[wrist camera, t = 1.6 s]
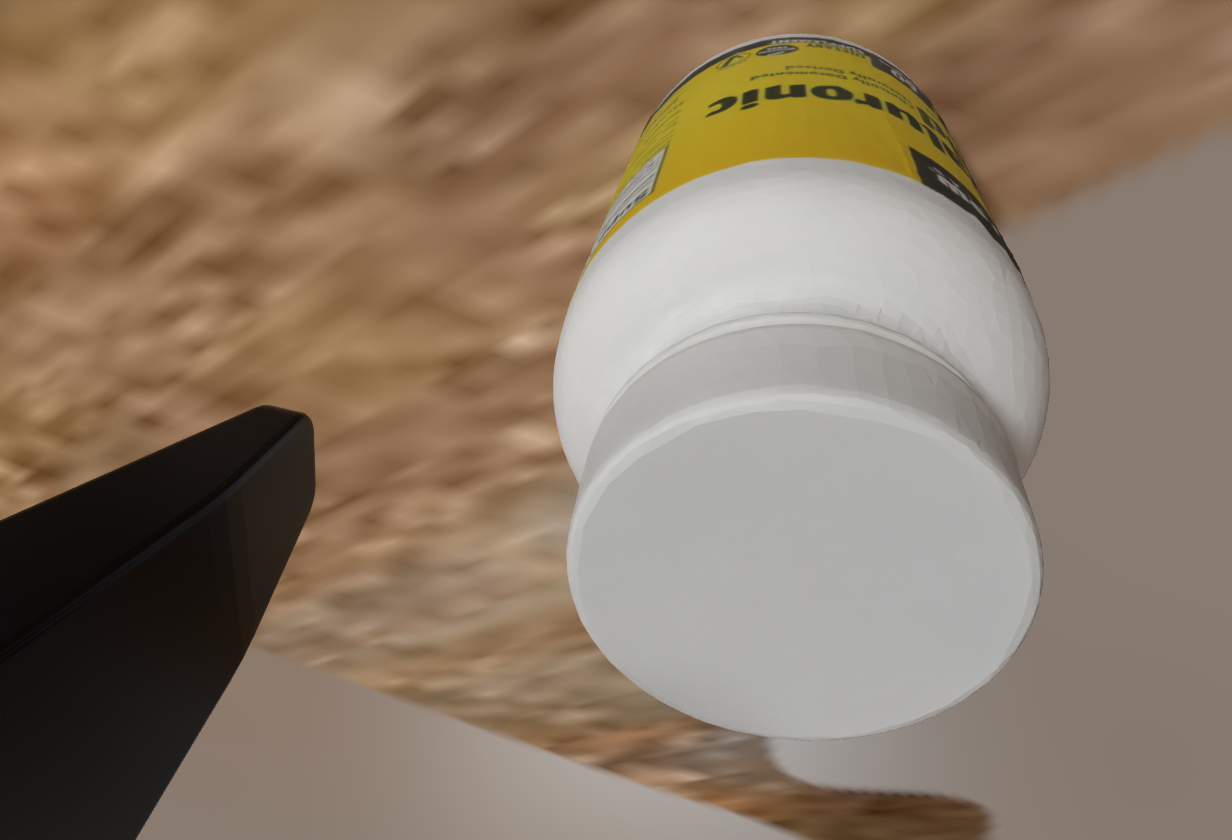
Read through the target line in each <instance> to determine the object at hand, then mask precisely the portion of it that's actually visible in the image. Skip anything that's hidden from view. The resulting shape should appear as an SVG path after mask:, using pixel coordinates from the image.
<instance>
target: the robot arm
mask: <svg viewBox="0 0 1232 840" xmlns="http://www.w3.org/2000/svg"><path fill="white" fill-rule="evenodd" d="M315 486H316V482H315V451H314V428H313V424H312V421H311V419H310V418H309V417H308V416H307V415H306V414H304V413H302V412H297V411H293V410H289V409H284V408H280V407H276V406H270V405H262V406H259V407H256V408H253V409H251V410H249V411H247V412H244V413H242V414H240V415H238V416H235V417H233V418H231V419H228V420H226V421H224V422H222V423H219V424H217V425H215V426H213V427H210V428H208V429H206V430H204V431H201V432H199V433H197V434H195V435H192V436H190V437H188V438H186V439H183V440H181V441H179V442H176V443H174V444H172V445H170V446H167V447H165V448H163V449H161V450H158V451H156V452H154V453H152V454H149V455H147V456H145V457H143V458H140V459H138V460H136V461H134V462H131V463H129V464H127V465H124V466H122V467H120V468H118V469H115V470H113V471H111V472H109V473H106V474H104V475H102V476H100V477H97V478H95V479H93V480H91V481H88V482H86V483H84V484H82V485H79V486H77V487H75V488H72V489H70V490H68V491H66V492H63V493H61V494H59V495H57V496H54V497H52V498H50V499H48V500H45V501H43V502H41V503H39V504H36V505H34V506H32V507H30V508H27V509H25V510H23V511H21V512H18V513H16V514H14V515H11V516H9V517H7V518H5V519H2V520H0V840H136V838H137V836H138V835H139V833H140V831H141V830H142V828H143V826H144V825H145V823H146V821H147V820H148V818H149V816H150V815H151V813H152V811H153V810H154V808H155V806H156V805H157V803H158V801H159V799H160V798H161V796H162V795H163V793H164V791H165V789H166V788H167V786H168V785H169V783H170V781H171V780H172V778H173V776H174V774H175V772H176V771H177V769H178V768H179V766H180V764H181V763H182V761H183V759H184V758H185V756H186V754H187V753H188V751H189V749H190V748H191V746H192V744H193V743H194V741H195V739H196V738H197V736H198V734H199V732H200V731H201V729H202V728H203V726H204V724H205V722H206V721H207V719H208V718H209V716H210V714H211V713H212V711H213V709H214V708H215V706H216V704H217V703H218V701H219V699H220V698H221V696H222V694H223V693H224V691H225V689H226V688H227V686H228V684H229V683H230V681H231V679H232V677H233V675H234V673H235V672H236V670H237V668H238V667H239V665H240V663H241V661H242V659H243V658H244V656H245V654H246V651H247V649H248V647H249V645H250V643H251V641H252V639H253V637H254V635H255V633H256V630H257V628H258V626H259V624H260V622H261V619H262V617H263V615H264V613H265V610H266V608H267V606H268V604H269V602H270V599H271V597H272V595H273V593H274V590H275V588H276V586H277V584H278V582H279V579H280V577H281V575H282V573H283V570H284V568H285V566H286V564H287V562H288V559H289V557H290V555H291V553H292V550H293V548H294V546H295V544H296V542H297V539H298V537H299V535H300V533H301V530H302V528H303V526H304V524H305V522H306V519H307V517H308V515H309V512H310V510H311V507H312V504H313V500H314V496H315Z"/></svg>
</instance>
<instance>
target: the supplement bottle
mask: <svg viewBox="0 0 1232 840" xmlns="http://www.w3.org/2000/svg"><path fill="white" fill-rule="evenodd" d="M553 401H554V409H555V417H556V422H557V427H558V432H559V437H560V440H561V444H562V447H563V450H564V453H565V455H566V458H567V460H568V463H569V465H570V468H571V470H572V472H573V473H574V475H575V477H576V479H577V481H578V484H579V486H580V487H579V491H578V495H577V499H576V503H575V507H574V511H573V515H572V519H571V523H570V528H569V535H568V541H567V548H566V555H567V572H568V579H569V585H570V589H571V593H572V597H573V601H574V604H575V606H576V609H577V612H578V615H579V617H580V620H581V622H582V623H583V625H584V627H585V628H586V630H587V632H588V633H589V635H590V636H591V638H592V639H593V641H594V642H595V643H596V645H597V646H598V648H599V649H600V650H601V652H602V653H603V654H604V656H605V657H606V658H607V659H608V660H609V661H610V662H611V663H612V664H613V665H614V666H615V667H616V668H617V669H618V670H619V671H620V672H622V673H623V674H624V675H625V676H626V677H628V678H629V679H630V680H631V681H632V682H634V683H635V684H636V685H637V686H639V687H640V688H641V689H642V690H644V691H645V692H647V693H648V694H650V695H652V696H653V697H655V698H657V699H658V700H660V701H661V702H663V703H665V704H667V705H669V706H671V707H673V708H675V709H677V710H679V711H681V712H683V713H685V714H687V715H689V716H692V717H694V718H696V719H699V720H701V721H704V722H706V723H710V724H713V725H716V726H720V727H723V728H726V729H730V730H733V731H738V732H743V733H748V734H753V735H759V736H764V737H771V738H781V739H794V740H808V741H812V740H833V739H847V738H854V737H862V736H868V735H873V734H877V733H882V732H887V731H891V730H895V729H898V728H902V727H905V726H909V725H912V724H915V723H917V722H920V721H922V720H925V719H927V718H929V717H932V716H934V715H937V714H939V713H941V712H943V711H945V710H947V709H949V708H951V707H952V706H954V705H956V704H958V703H959V702H961V701H962V700H964V699H965V698H967V697H968V696H970V695H971V694H973V693H974V692H976V691H977V690H979V689H980V688H982V687H983V686H984V685H985V684H986V683H988V682H989V681H990V680H991V679H992V678H993V677H994V676H995V675H996V674H997V673H998V672H999V671H1000V670H1001V669H1002V668H1003V667H1004V666H1005V664H1006V663H1007V662H1008V661H1009V660H1010V659H1011V658H1012V657H1013V655H1014V654H1015V652H1016V651H1017V649H1018V648H1019V646H1020V644H1021V643H1022V642H1023V640H1024V639H1025V637H1026V635H1027V633H1028V631H1029V629H1030V627H1031V625H1032V622H1033V620H1034V617H1035V614H1036V611H1037V609H1038V604H1039V599H1040V594H1041V591H1042V583H1043V557H1042V544H1041V540H1040V536H1039V532H1038V528H1037V525H1036V521H1035V518H1034V515H1033V512H1032V510H1031V506H1030V504H1029V501H1028V498H1027V495H1026V493H1025V489H1024V486H1023V484H1022V479H1023V477H1024V476H1025V474H1026V472H1027V470H1028V468H1029V466H1030V464H1031V462H1032V460H1033V458H1034V456H1035V454H1036V451H1037V448H1038V445H1039V442H1040V439H1041V436H1042V432H1043V428H1044V424H1045V420H1046V413H1047V407H1048V401H1049V359H1048V353H1047V348H1046V342H1045V337H1044V333H1043V329H1042V326H1041V323H1040V320H1039V318H1038V315H1037V312H1036V309H1035V307H1034V304H1033V301H1032V298H1031V295H1030V292H1029V290H1028V288H1027V287H1026V285H1025V282H1024V279H1023V277H1022V274H1021V271H1020V269H1019V267H1018V265H1017V263H1016V261H1015V259H1014V257H1013V254H1012V253H1011V252H1010V250H1009V249H1008V247H1007V245H1006V243H1005V241H1004V239H1003V237H1002V236H1001V234H1000V233H999V231H998V229H997V227H996V225H995V224H994V222H993V220H992V217H991V215H990V214H989V212H988V210H987V208H986V206H985V204H984V202H983V199H982V197H981V195H980V193H979V191H978V189H977V187H976V185H975V183H974V181H973V179H972V177H971V176H970V174H969V171H968V169H967V167H966V165H965V163H964V161H963V159H962V157H961V155H960V154H959V152H958V150H957V148H956V146H955V144H954V142H953V141H952V138H951V136H950V134H949V132H948V130H947V128H946V126H945V123H944V122H943V120H942V119H941V117H940V116H939V114H938V113H937V111H936V110H935V108H934V106H933V105H932V103H931V102H930V101H929V99H928V98H927V97H926V96H925V94H924V93H923V92H922V91H921V89H920V88H919V87H918V86H917V85H916V84H915V83H914V82H913V81H912V80H911V79H910V78H909V77H908V76H907V75H906V74H905V73H904V72H903V71H902V70H900V69H899V68H898V67H897V66H895V65H894V64H893V63H891V62H890V61H888V60H887V59H885V58H884V57H883V56H881V55H879V54H877V53H875V52H873V51H871V50H869V49H867V48H865V47H863V46H860V45H858V44H855V43H853V42H850V41H846V40H843V39H839V38H836V37H831V36H824V35H816V34H781V35H775V36H768V37H763V38H759V39H754V40H751V41H748V42H745V43H742V44H739V45H736V46H734V47H732V48H730V49H727V50H725V51H723V52H721V53H719V54H717V55H715V56H713V57H712V58H710V59H709V60H707V61H706V62H704V63H703V64H701V65H700V66H698V67H697V68H696V69H694V70H693V71H692V72H690V73H689V74H688V75H687V76H686V77H685V78H684V79H683V80H682V81H681V82H680V83H679V84H678V85H677V86H676V87H675V88H674V89H673V90H672V91H671V92H670V93H669V94H668V95H667V96H666V98H665V99H664V100H663V101H662V103H661V104H660V106H659V107H658V108H657V110H656V111H655V112H654V114H653V115H652V116H651V117H650V119H649V121H648V123H647V125H646V126H645V128H644V130H643V132H642V134H641V136H640V138H639V141H638V143H637V145H636V147H635V149H634V151H633V154H632V156H631V159H630V161H629V163H628V166H627V168H626V171H625V173H624V176H623V178H622V180H621V182H620V184H619V186H618V189H617V191H616V194H615V196H614V199H613V201H612V203H611V205H610V208H609V210H608V213H607V215H606V217H605V220H604V222H603V225H602V227H601V229H600V231H599V234H598V237H597V239H596V241H595V243H594V246H593V248H592V251H591V254H590V256H589V258H588V260H587V263H586V265H585V267H584V270H583V272H582V274H581V277H580V279H579V281H578V284H577V286H576V288H575V291H574V293H573V296H572V299H571V301H570V304H569V307H568V311H567V314H566V318H565V321H564V325H563V328H562V332H561V336H560V340H559V344H558V349H557V354H556V359H555V367H554V377H553Z"/></svg>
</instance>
